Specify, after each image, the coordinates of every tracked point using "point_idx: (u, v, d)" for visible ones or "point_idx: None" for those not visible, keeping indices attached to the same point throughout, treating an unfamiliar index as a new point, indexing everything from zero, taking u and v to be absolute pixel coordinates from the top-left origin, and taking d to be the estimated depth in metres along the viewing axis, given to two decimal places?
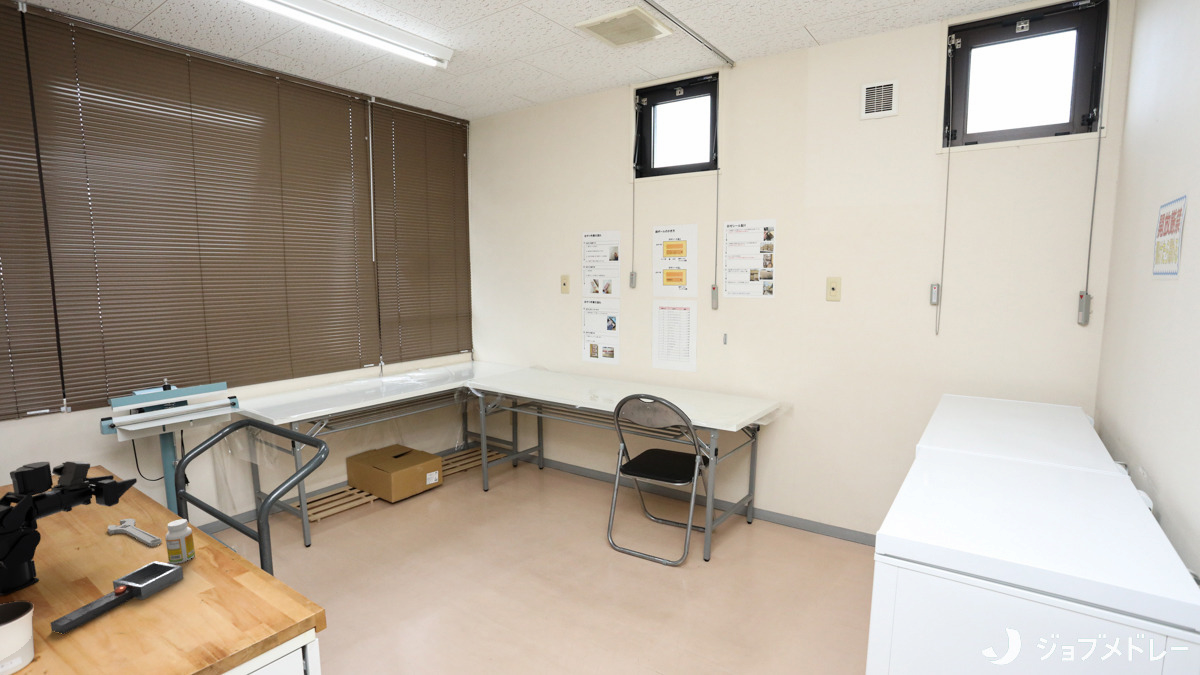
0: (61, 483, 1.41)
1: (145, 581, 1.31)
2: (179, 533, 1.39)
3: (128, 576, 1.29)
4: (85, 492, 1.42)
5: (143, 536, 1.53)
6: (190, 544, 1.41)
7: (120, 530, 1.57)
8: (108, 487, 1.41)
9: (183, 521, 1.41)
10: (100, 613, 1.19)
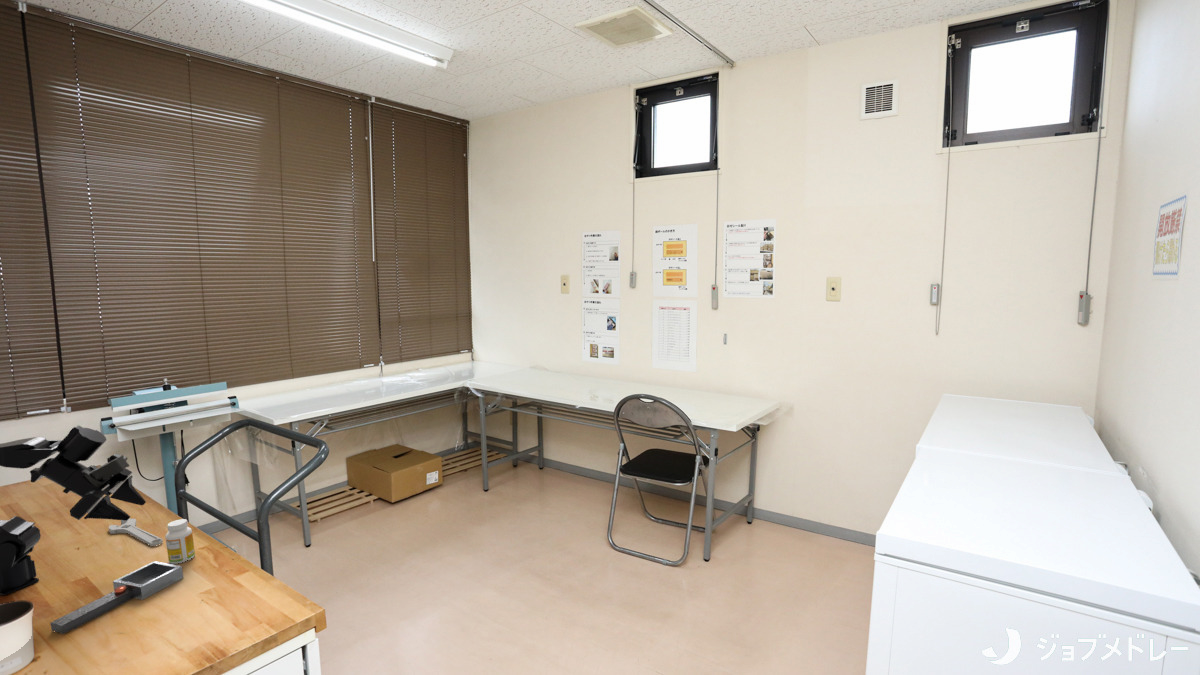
0: (97, 468, 1.35)
1: (145, 581, 1.31)
2: (179, 533, 1.39)
3: (128, 576, 1.29)
4: (90, 489, 1.32)
5: (144, 536, 1.53)
6: (190, 544, 1.41)
7: (121, 530, 1.57)
8: (86, 498, 1.27)
9: (183, 521, 1.41)
10: (100, 613, 1.19)
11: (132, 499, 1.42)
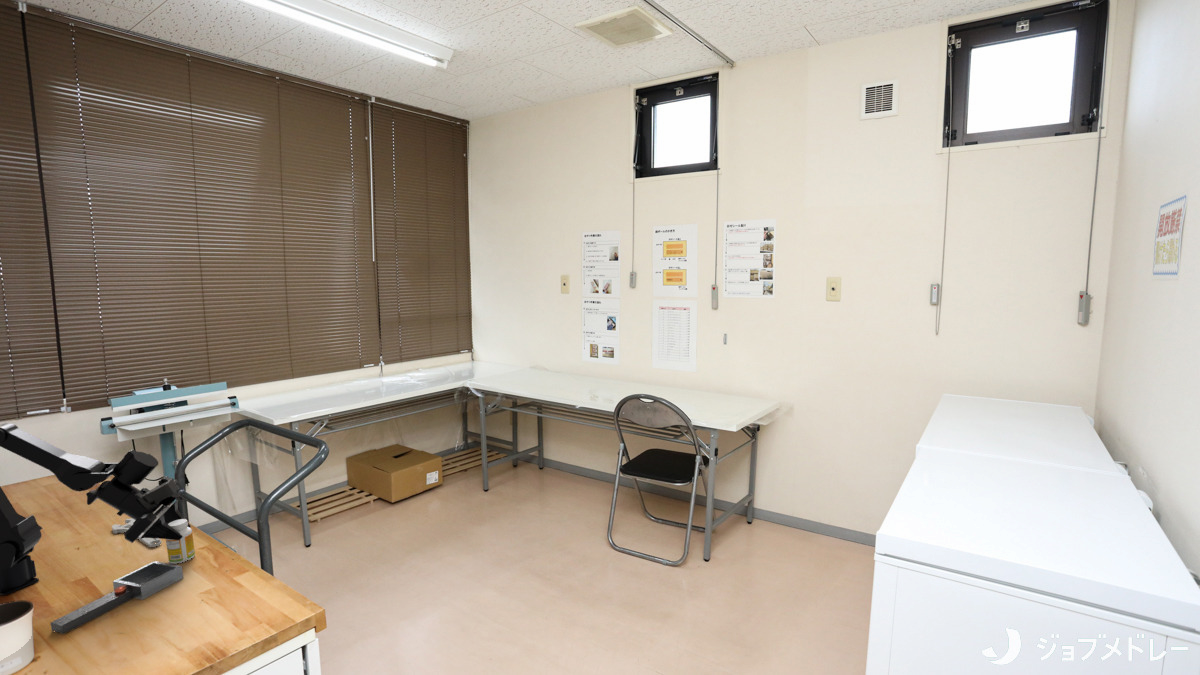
0: (149, 491, 1.39)
1: (145, 581, 1.31)
2: None
3: (128, 576, 1.29)
4: (142, 512, 1.36)
5: None
6: (190, 543, 1.41)
7: (123, 530, 1.57)
8: (140, 522, 1.30)
9: (183, 521, 1.41)
10: (100, 613, 1.19)
11: None
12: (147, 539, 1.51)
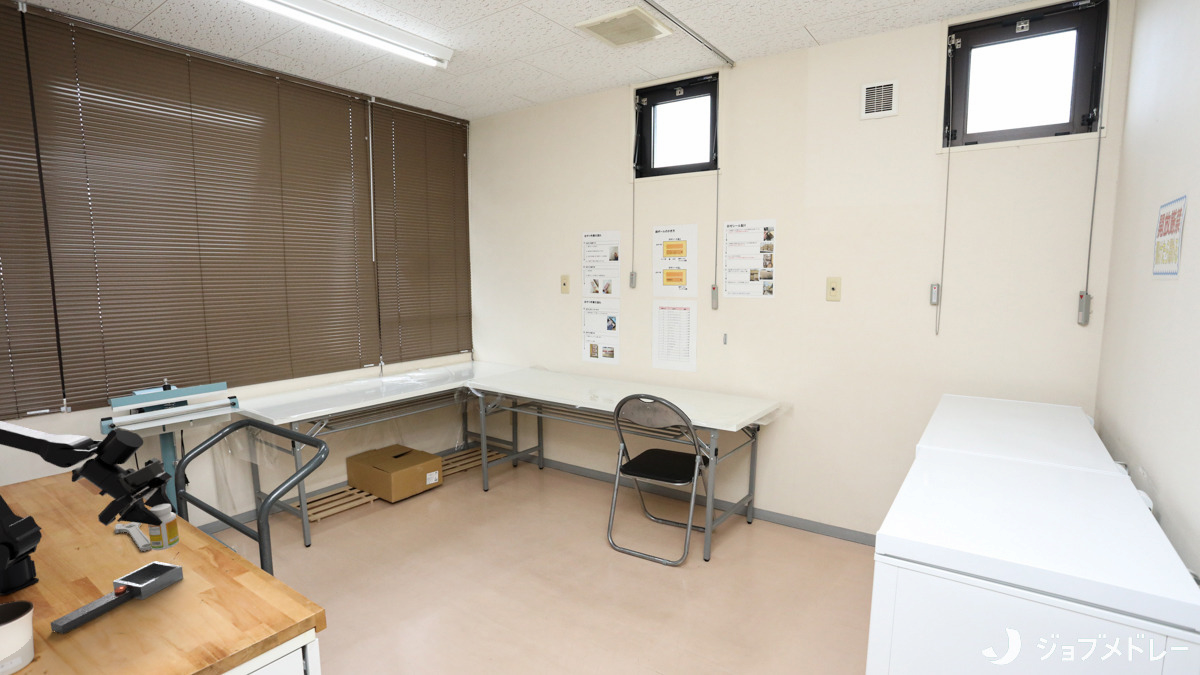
0: (134, 471, 1.33)
1: (145, 581, 1.31)
2: (160, 519, 1.33)
3: (128, 576, 1.29)
4: (123, 494, 1.30)
5: (139, 539, 1.52)
6: (172, 530, 1.34)
7: (124, 530, 1.57)
8: (113, 505, 1.24)
9: (166, 506, 1.34)
10: (100, 613, 1.19)
11: None
12: (141, 541, 1.50)
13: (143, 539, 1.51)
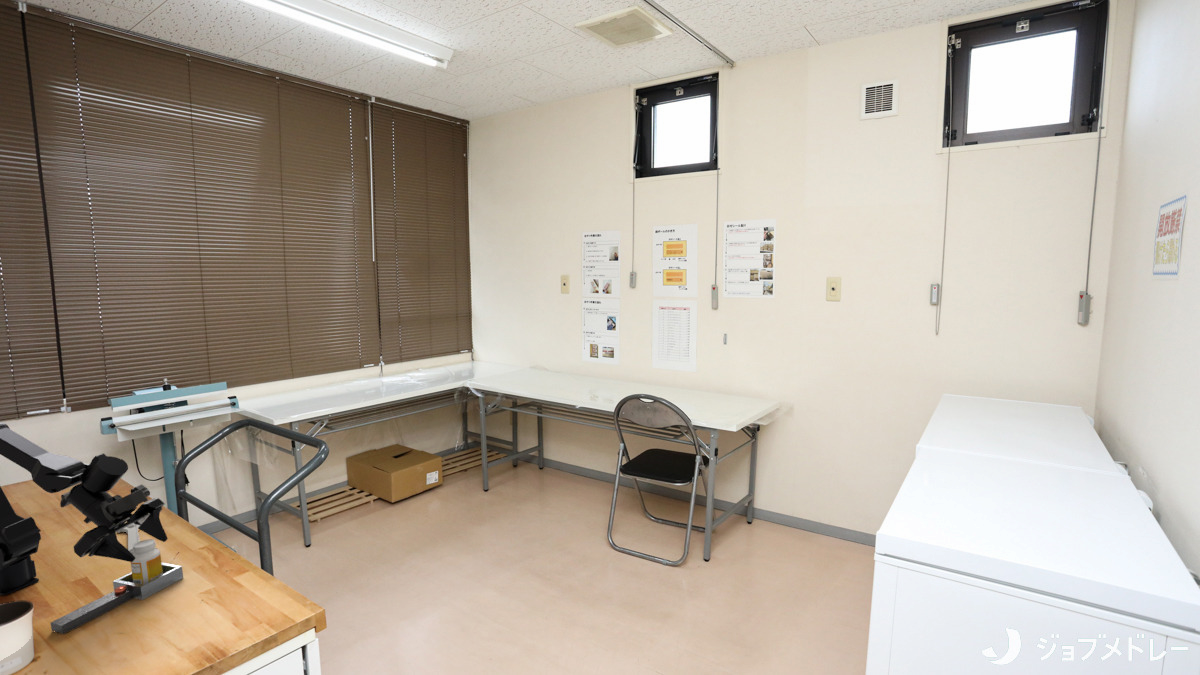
0: (120, 499, 1.29)
1: None
2: (141, 557, 1.27)
3: (128, 576, 1.29)
4: (105, 523, 1.25)
5: (133, 541, 1.50)
6: (153, 569, 1.28)
7: (125, 530, 1.57)
8: (86, 537, 1.19)
9: (149, 543, 1.29)
10: (100, 613, 1.19)
11: (155, 533, 1.33)
12: (132, 545, 1.49)
13: (135, 542, 1.50)
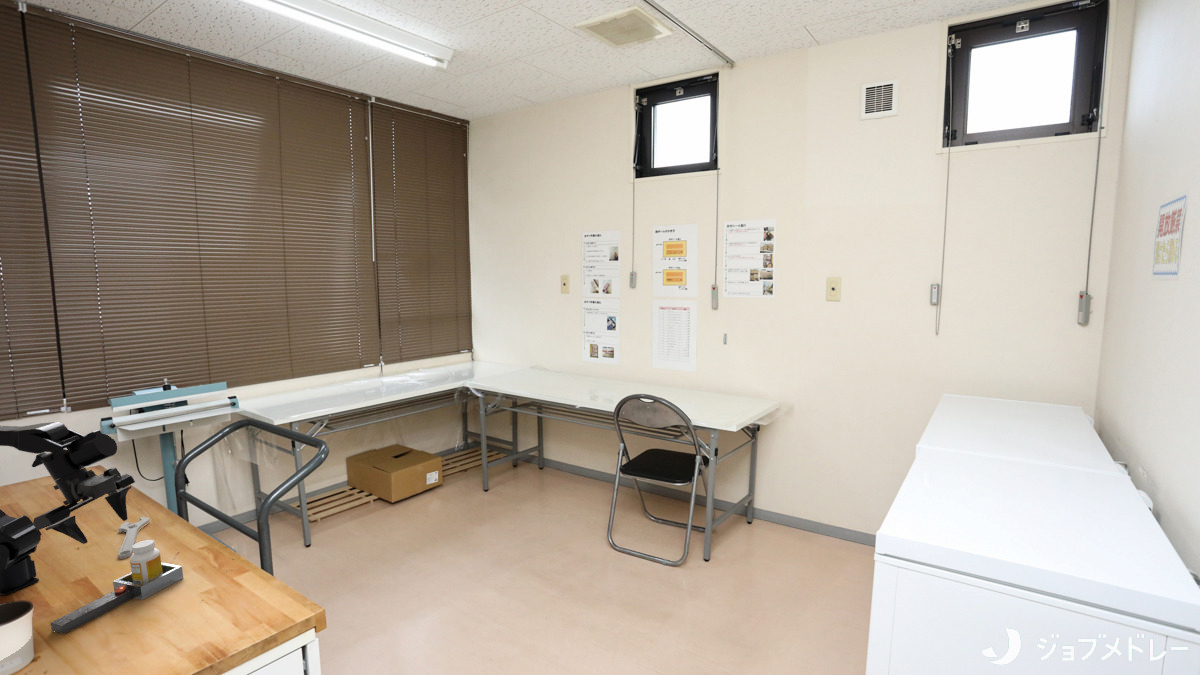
0: (91, 476, 1.31)
1: None
2: (141, 557, 1.27)
3: (128, 576, 1.29)
4: (70, 498, 1.28)
5: (127, 543, 1.49)
6: (153, 569, 1.28)
7: (125, 530, 1.57)
8: (46, 518, 1.22)
9: (149, 543, 1.29)
10: (100, 613, 1.19)
11: (118, 510, 1.37)
12: (125, 547, 1.47)
13: (129, 544, 1.49)
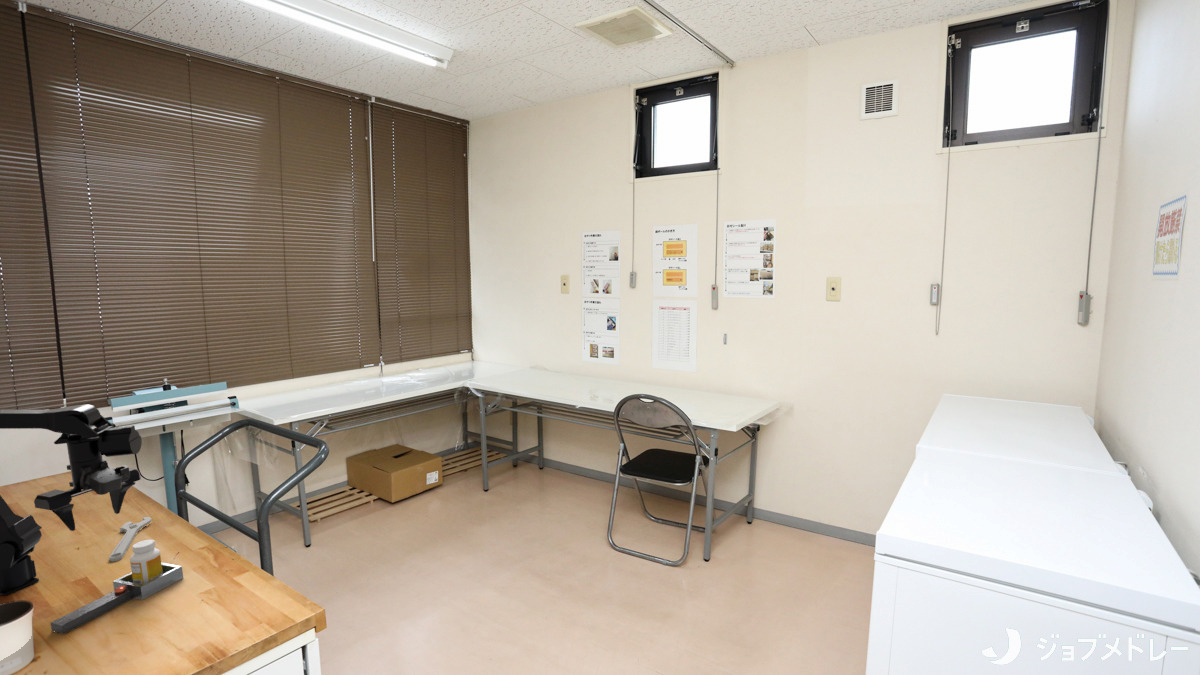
0: (103, 468, 1.33)
1: None
2: (141, 557, 1.27)
3: (128, 576, 1.29)
4: (77, 484, 1.31)
5: (122, 545, 1.49)
6: (153, 569, 1.28)
7: (126, 530, 1.57)
8: (47, 502, 1.24)
9: (149, 543, 1.29)
10: (100, 613, 1.19)
11: (114, 501, 1.39)
12: (119, 549, 1.47)
13: (123, 546, 1.48)
